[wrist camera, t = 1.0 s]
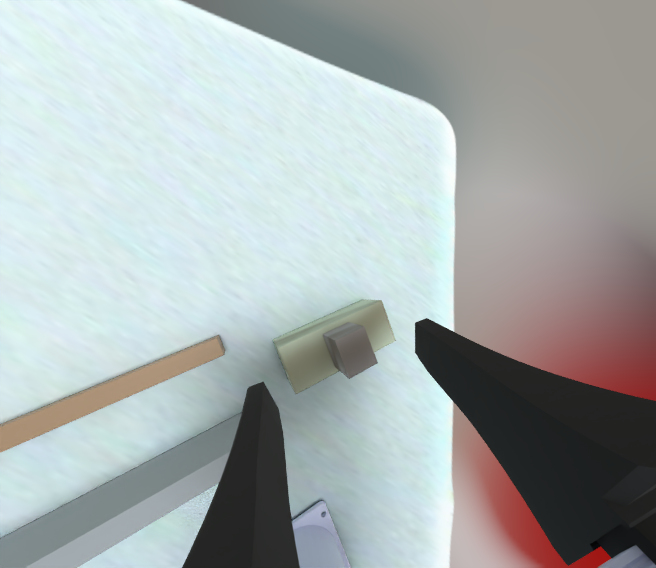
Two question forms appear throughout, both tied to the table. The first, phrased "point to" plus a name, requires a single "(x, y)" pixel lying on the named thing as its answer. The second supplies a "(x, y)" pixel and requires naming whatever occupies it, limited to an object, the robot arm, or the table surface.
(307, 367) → the beige block with knob
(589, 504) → the robot arm
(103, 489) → the grey and tan bars
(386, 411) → the table surface
